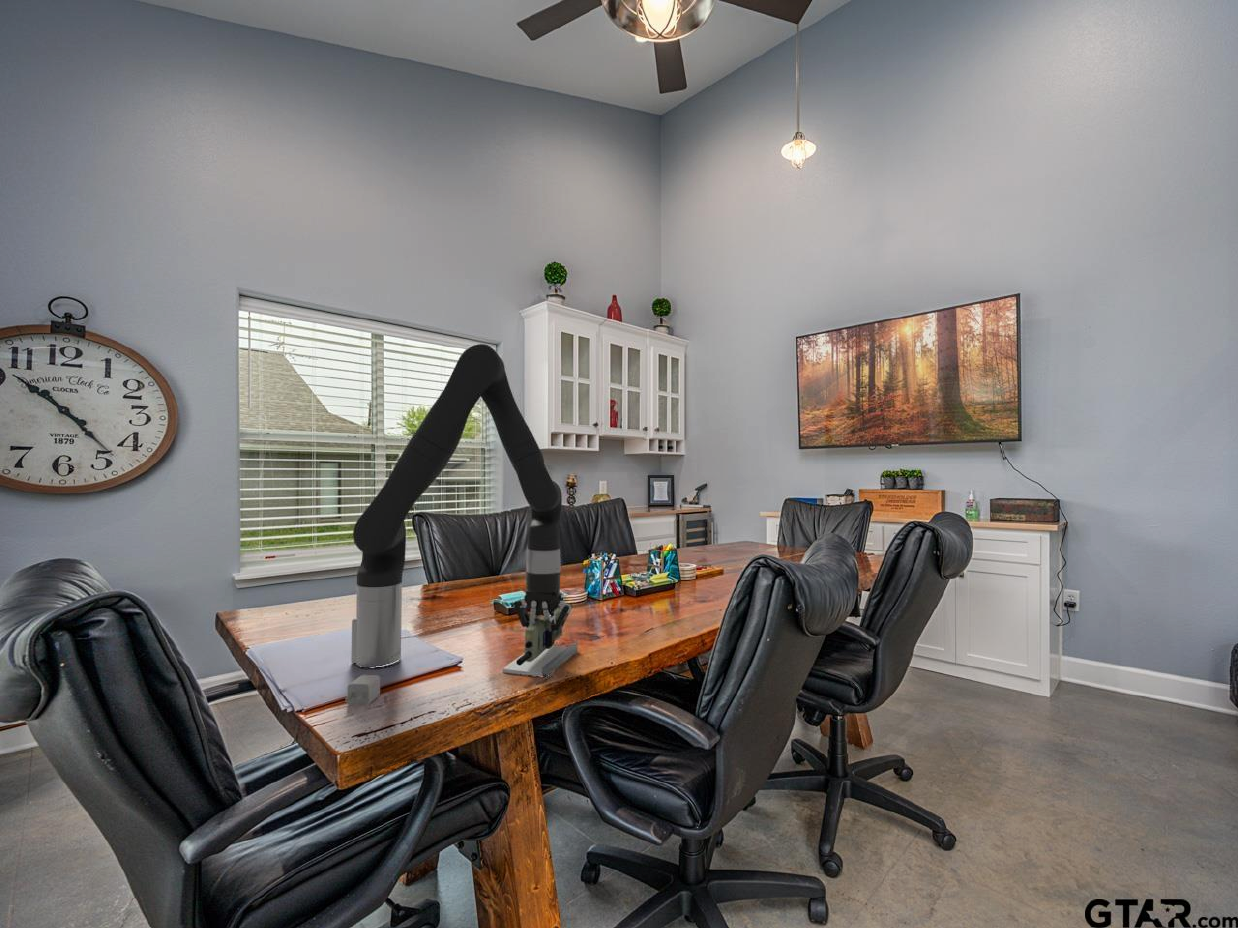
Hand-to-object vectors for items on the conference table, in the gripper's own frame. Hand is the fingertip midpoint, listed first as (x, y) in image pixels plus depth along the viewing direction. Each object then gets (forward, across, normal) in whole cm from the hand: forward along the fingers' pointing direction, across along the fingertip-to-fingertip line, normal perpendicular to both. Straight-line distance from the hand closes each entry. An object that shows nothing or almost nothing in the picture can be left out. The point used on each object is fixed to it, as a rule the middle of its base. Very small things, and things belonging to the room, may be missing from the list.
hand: (542, 646), depth 130 cm
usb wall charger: (+4, -22, -32) cm, 38 cm away
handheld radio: (+1, 0, 0) cm, 1 cm away
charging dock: (+3, 0, 0) cm, 3 cm away
